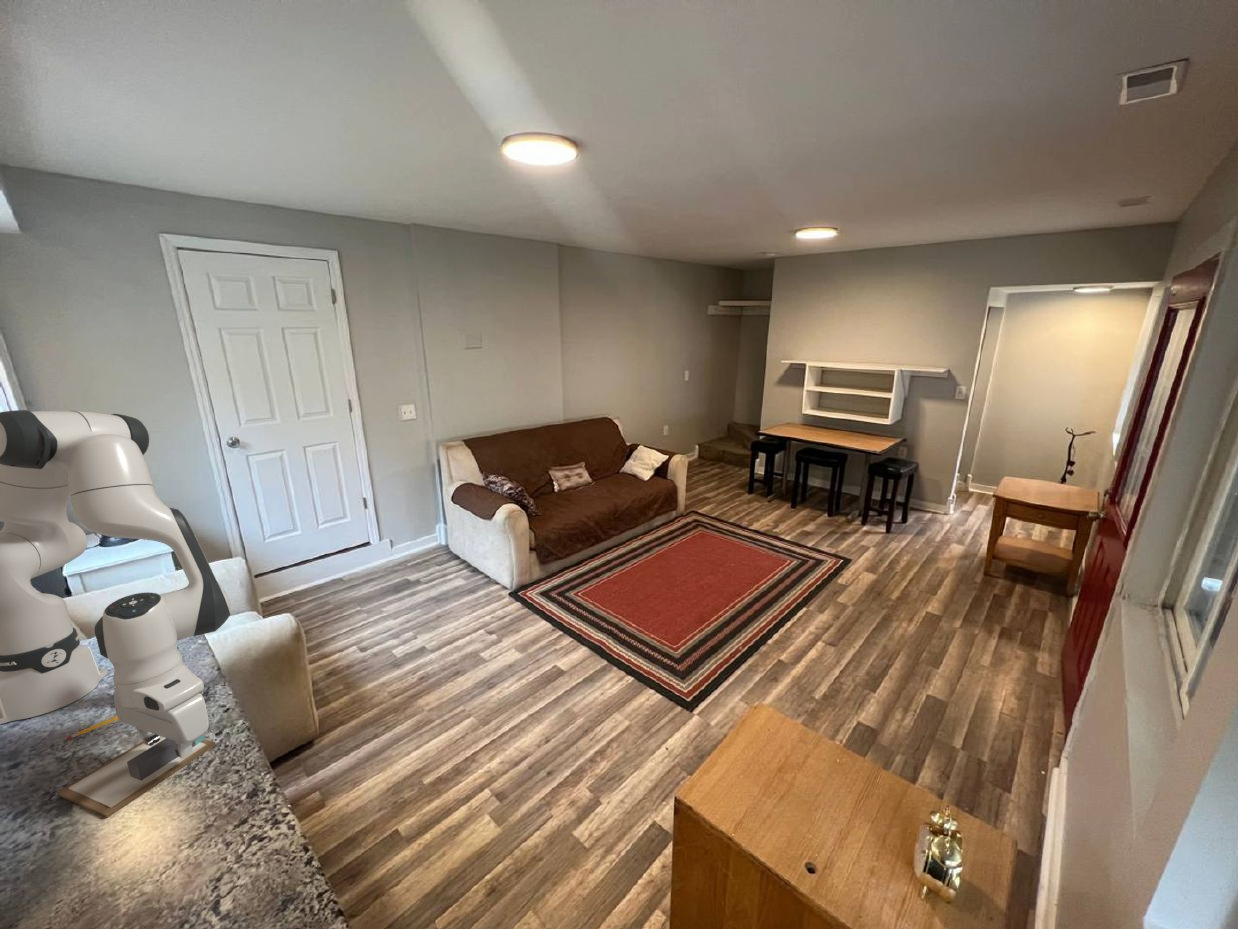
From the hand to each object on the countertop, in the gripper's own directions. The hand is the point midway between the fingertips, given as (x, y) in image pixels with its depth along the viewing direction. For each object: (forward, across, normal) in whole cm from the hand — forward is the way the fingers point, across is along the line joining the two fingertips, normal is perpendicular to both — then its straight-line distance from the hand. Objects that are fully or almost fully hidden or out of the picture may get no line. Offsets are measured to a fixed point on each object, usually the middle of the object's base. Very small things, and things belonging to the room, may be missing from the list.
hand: (168, 748), depth 88 cm
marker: (+2, 0, 0) cm, 2 cm away
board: (+2, -3, -3) cm, 5 cm away
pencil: (+3, -24, +6) cm, 24 cm away
